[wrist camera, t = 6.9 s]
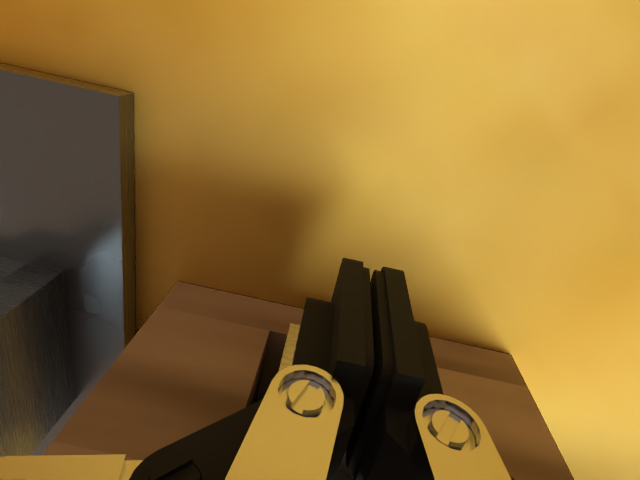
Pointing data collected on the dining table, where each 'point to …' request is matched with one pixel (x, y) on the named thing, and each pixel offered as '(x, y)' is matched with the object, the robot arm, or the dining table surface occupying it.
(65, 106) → the v-block
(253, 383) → the slotted wooden block
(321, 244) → the dining table surface
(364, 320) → the robot arm
